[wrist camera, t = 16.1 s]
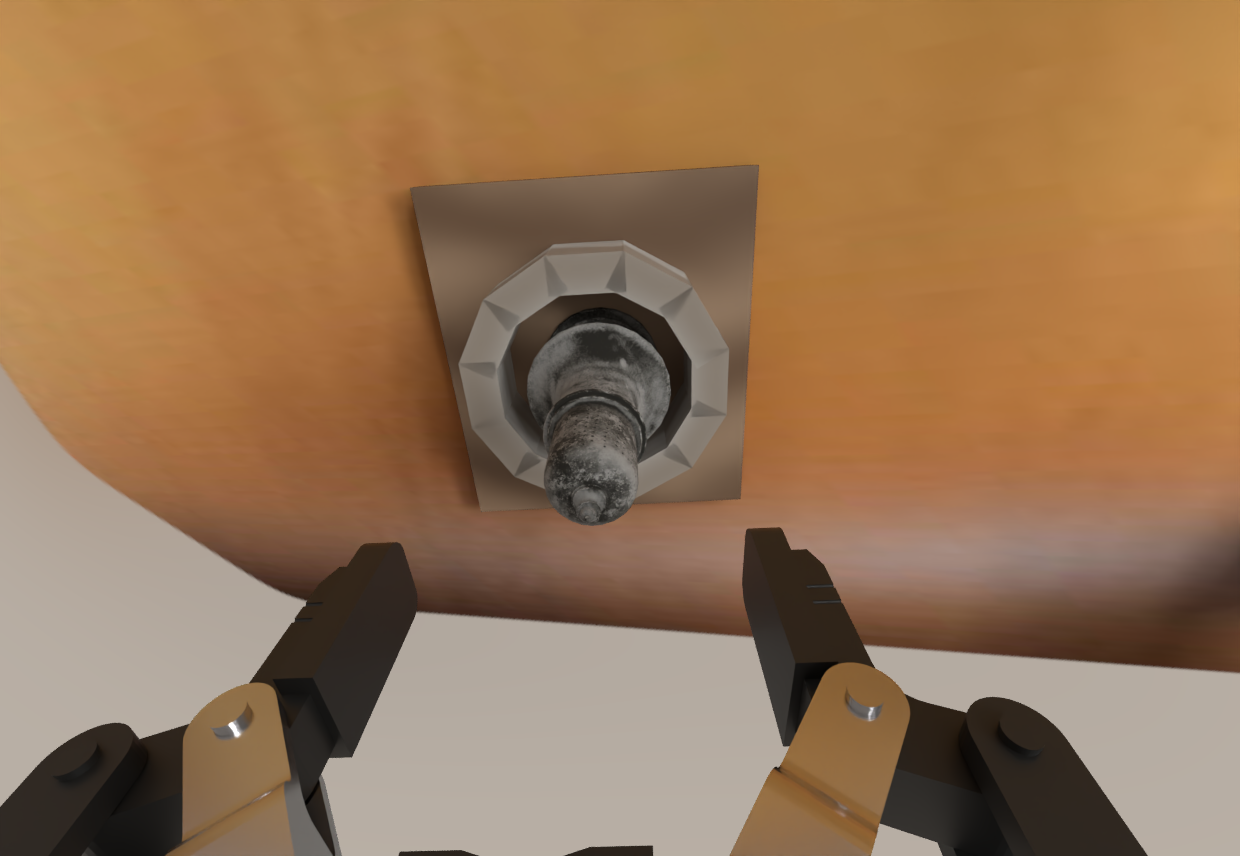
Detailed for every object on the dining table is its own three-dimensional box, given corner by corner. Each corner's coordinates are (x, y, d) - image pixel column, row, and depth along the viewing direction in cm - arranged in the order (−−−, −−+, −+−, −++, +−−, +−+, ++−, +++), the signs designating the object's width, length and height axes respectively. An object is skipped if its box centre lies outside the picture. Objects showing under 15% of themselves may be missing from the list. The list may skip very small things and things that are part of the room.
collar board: (419, 186, 22) (379, 191, 18) (751, 164, 22) (779, 165, 18) (485, 498, 29) (466, 548, 26) (735, 486, 29) (753, 534, 25)
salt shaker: (581, 438, 26) (555, 629, 16) (513, 341, 24) (429, 487, 13) (686, 384, 25) (735, 552, 14) (624, 275, 23) (629, 379, 12)
